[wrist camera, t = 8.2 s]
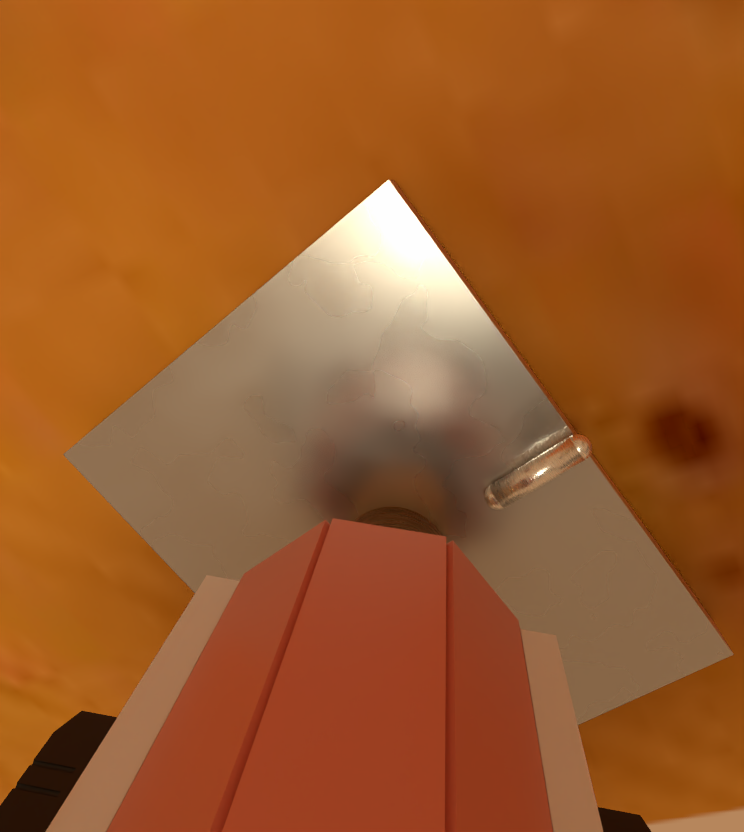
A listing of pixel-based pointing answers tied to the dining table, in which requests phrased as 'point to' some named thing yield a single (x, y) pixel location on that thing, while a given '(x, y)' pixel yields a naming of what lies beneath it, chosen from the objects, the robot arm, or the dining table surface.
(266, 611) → the wire nut
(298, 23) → the dining table surface
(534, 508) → the plate
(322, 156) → the dining table surface
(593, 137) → the dining table surface
